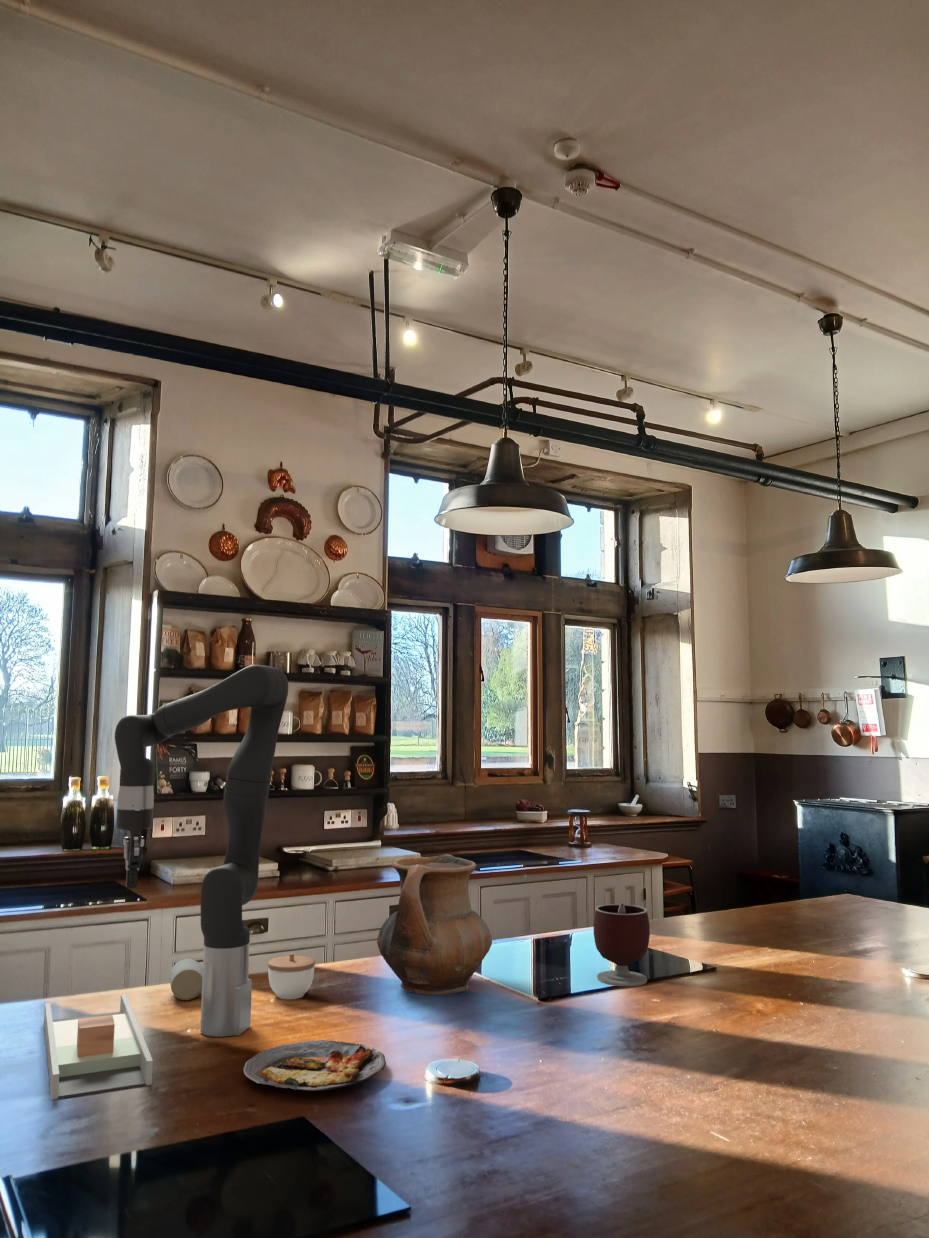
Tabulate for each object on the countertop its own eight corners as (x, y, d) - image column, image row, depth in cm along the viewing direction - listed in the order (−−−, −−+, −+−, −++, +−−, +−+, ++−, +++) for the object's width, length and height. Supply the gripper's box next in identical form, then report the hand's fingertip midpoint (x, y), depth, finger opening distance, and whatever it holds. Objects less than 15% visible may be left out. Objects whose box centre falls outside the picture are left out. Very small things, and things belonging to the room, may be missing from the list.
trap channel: (43, 1022, 194) (45, 1002, 194) (124, 1013, 201) (125, 993, 201) (51, 1099, 154) (52, 1074, 155) (151, 1084, 161) (152, 1060, 162)
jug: (493, 1005, 208) (493, 869, 212) (368, 1004, 209) (371, 868, 212) (490, 968, 241) (491, 850, 244) (383, 966, 241) (385, 849, 244)
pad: (53, 1061, 172) (54, 1047, 172) (133, 1050, 178) (133, 1036, 178) (55, 1080, 163) (56, 1065, 163) (139, 1067, 169) (140, 1053, 169)
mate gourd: (593, 970, 239) (593, 891, 241) (648, 973, 237) (647, 893, 239) (593, 987, 223) (593, 902, 226) (652, 990, 222) (651, 904, 224)
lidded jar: (291, 986, 222) (292, 946, 223) (323, 994, 216) (324, 952, 217) (257, 996, 214) (258, 954, 215) (289, 1005, 207) (291, 962, 208)
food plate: (405, 1059, 174) (404, 1040, 175) (350, 1108, 152) (350, 1086, 153) (287, 1047, 182) (287, 1028, 183) (219, 1092, 160) (219, 1071, 161)
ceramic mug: (170, 1003, 208) (172, 967, 209) (168, 993, 216) (170, 959, 217) (218, 999, 212) (220, 965, 213) (215, 990, 219) (217, 956, 220)
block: (76, 1046, 173) (78, 1018, 173) (111, 1042, 175) (112, 1014, 176) (77, 1057, 167) (79, 1028, 168) (113, 1052, 170) (114, 1024, 170)
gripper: (114, 804, 207) (110, 884, 205) (120, 809, 195) (116, 894, 193) (149, 803, 210) (145, 881, 209) (157, 808, 199) (153, 891, 197)
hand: (131, 887), depth 201 cm, fingers closed
